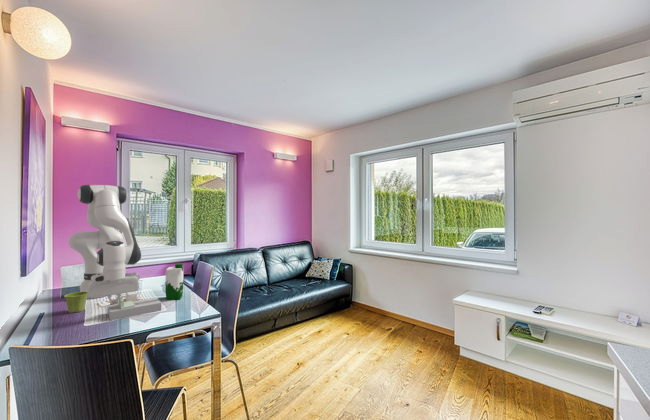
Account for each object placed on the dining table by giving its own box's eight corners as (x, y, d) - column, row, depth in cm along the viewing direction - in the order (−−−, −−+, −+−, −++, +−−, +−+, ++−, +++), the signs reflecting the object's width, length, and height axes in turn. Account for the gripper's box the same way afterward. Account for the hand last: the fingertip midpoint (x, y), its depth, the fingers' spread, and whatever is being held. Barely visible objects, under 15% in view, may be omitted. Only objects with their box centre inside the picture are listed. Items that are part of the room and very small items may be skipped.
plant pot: (73, 315, 138) (74, 297, 139) (58, 313, 140) (59, 296, 141) (93, 308, 148) (93, 292, 148) (78, 307, 150) (78, 291, 150)
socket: (107, 314, 140) (107, 305, 140) (155, 304, 154) (155, 297, 154) (110, 320, 131) (110, 312, 131) (161, 310, 145) (161, 302, 145)
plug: (125, 303, 155) (125, 291, 155) (133, 302, 158) (133, 290, 158) (128, 307, 149) (128, 294, 149) (136, 306, 151) (136, 293, 151)
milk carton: (181, 299, 163) (181, 265, 164) (163, 301, 161) (164, 266, 161) (184, 295, 172) (184, 262, 172) (167, 297, 169) (167, 263, 169)
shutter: (118, 304, 142) (118, 296, 142) (131, 302, 146) (131, 294, 146) (121, 309, 135) (121, 301, 135) (135, 306, 139) (135, 299, 139)
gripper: (138, 271, 146) (138, 297, 146) (87, 276, 133) (86, 306, 132) (140, 273, 142) (140, 300, 142) (87, 279, 128) (87, 309, 128)
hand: (114, 303), depth 137 cm, fingers closed
